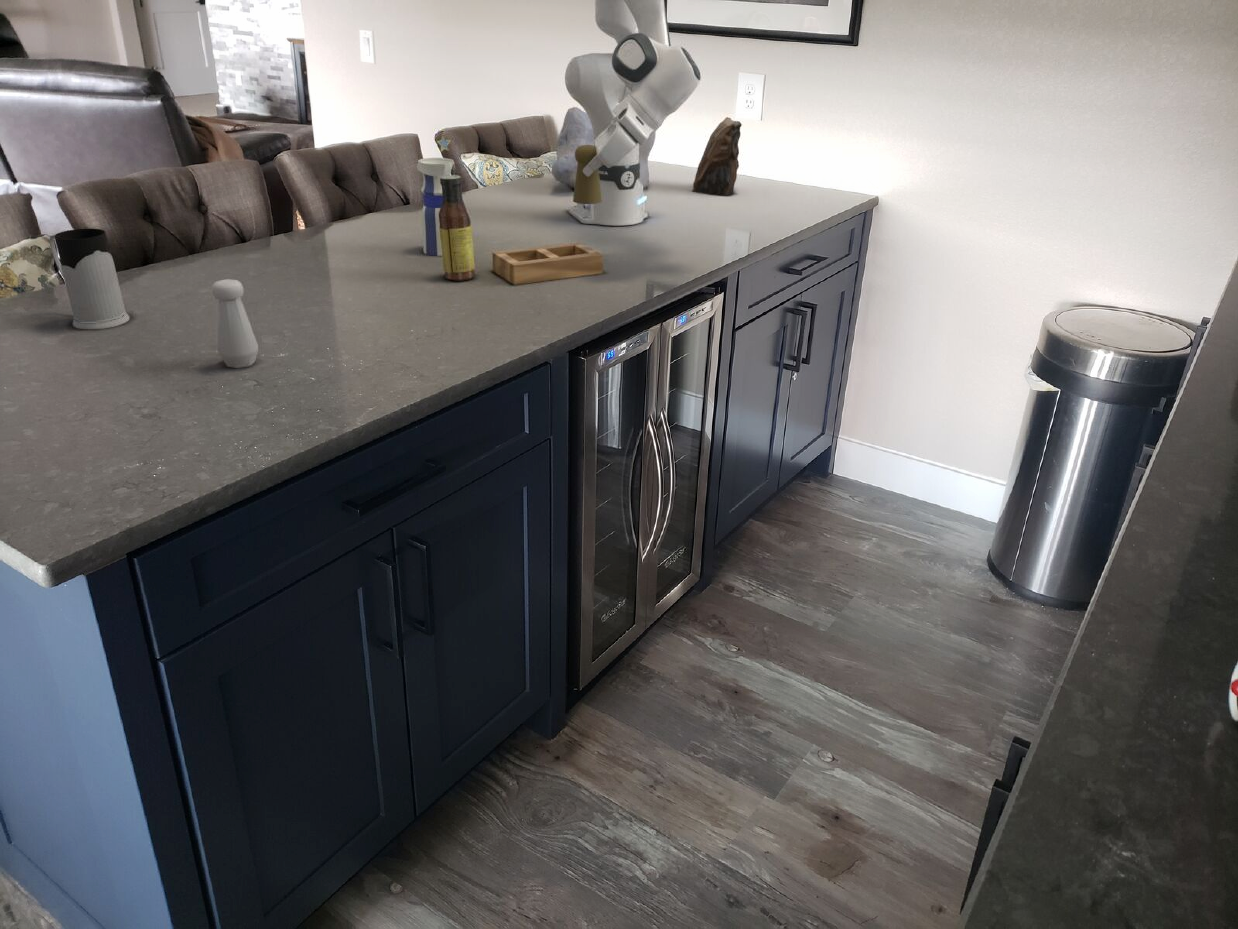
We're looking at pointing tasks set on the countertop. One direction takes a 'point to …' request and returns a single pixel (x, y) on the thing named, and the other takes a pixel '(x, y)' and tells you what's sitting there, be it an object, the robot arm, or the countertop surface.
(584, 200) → the olive green game pawn
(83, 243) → the glass holder
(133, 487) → the countertop surface
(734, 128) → the rock
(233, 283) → the salt shaker
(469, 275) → the sauce bottle
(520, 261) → the socket block
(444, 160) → the blue tall piece
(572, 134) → the rock
